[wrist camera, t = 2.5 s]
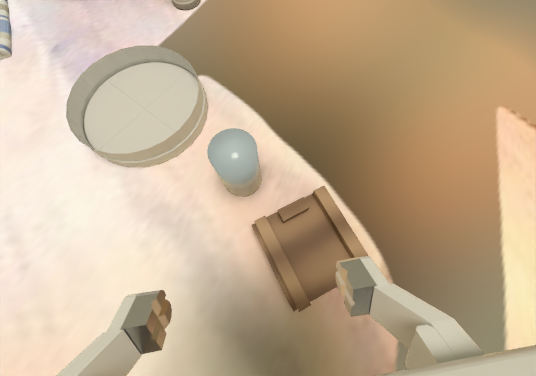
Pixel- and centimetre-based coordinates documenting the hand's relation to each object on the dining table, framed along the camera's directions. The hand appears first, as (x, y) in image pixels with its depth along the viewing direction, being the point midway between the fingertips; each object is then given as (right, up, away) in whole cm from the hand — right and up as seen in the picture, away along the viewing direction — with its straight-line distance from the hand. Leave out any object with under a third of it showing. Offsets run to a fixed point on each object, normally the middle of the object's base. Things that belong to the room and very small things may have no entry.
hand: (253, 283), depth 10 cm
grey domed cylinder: (-3, +6, +26) cm, 27 cm away
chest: (+7, -4, +22) cm, 23 cm away
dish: (-21, +18, +31) cm, 42 cm away
